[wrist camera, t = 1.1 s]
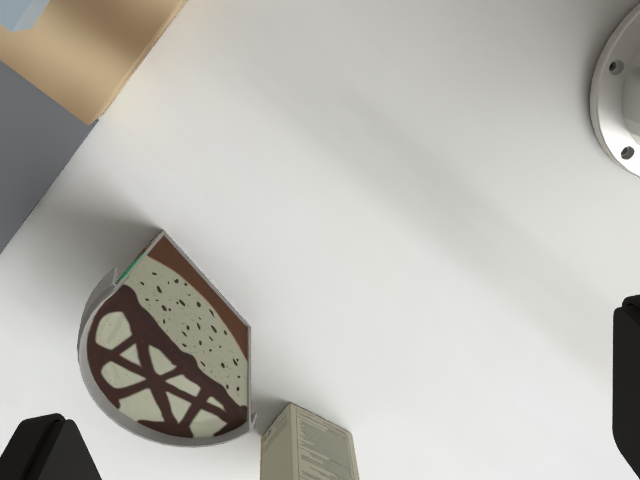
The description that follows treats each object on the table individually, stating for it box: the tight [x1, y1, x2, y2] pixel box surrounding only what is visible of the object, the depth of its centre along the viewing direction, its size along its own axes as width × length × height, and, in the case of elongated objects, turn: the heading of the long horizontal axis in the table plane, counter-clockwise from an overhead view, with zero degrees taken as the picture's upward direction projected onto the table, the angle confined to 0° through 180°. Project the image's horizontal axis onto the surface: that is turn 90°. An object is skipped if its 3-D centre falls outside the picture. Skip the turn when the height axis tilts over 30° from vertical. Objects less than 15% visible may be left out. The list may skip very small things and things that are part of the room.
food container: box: [77, 230, 258, 448], centre depth 37 cm, size 12×6×10 cm, turn 35°
